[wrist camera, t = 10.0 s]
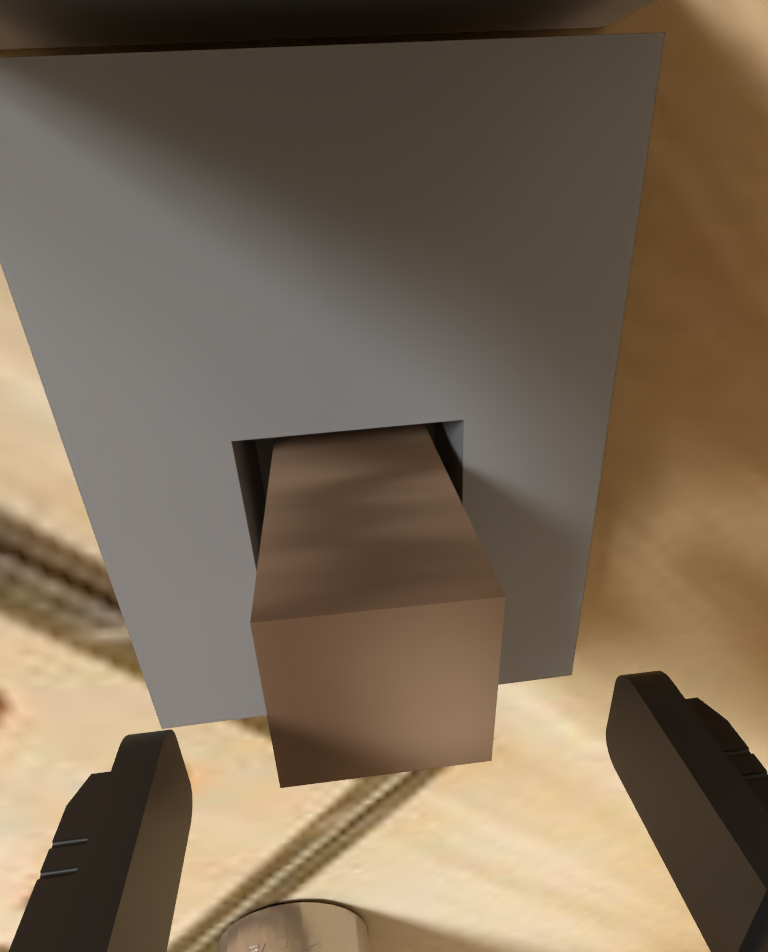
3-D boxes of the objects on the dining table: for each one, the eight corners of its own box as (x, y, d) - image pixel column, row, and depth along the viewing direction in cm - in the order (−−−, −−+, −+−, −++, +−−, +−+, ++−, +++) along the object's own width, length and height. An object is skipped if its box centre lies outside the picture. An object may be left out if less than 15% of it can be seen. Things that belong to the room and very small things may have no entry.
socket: (524, 585, 24) (571, 674, 20) (189, 624, 23) (162, 728, 19) (565, 73, 16) (665, 32, 11) (43, 96, 15) (-70, 60, 10)
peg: (413, 400, 19) (506, 596, 10) (413, 514, 21) (491, 760, 12) (277, 409, 18) (249, 622, 10) (292, 524, 20) (280, 788, 12)
